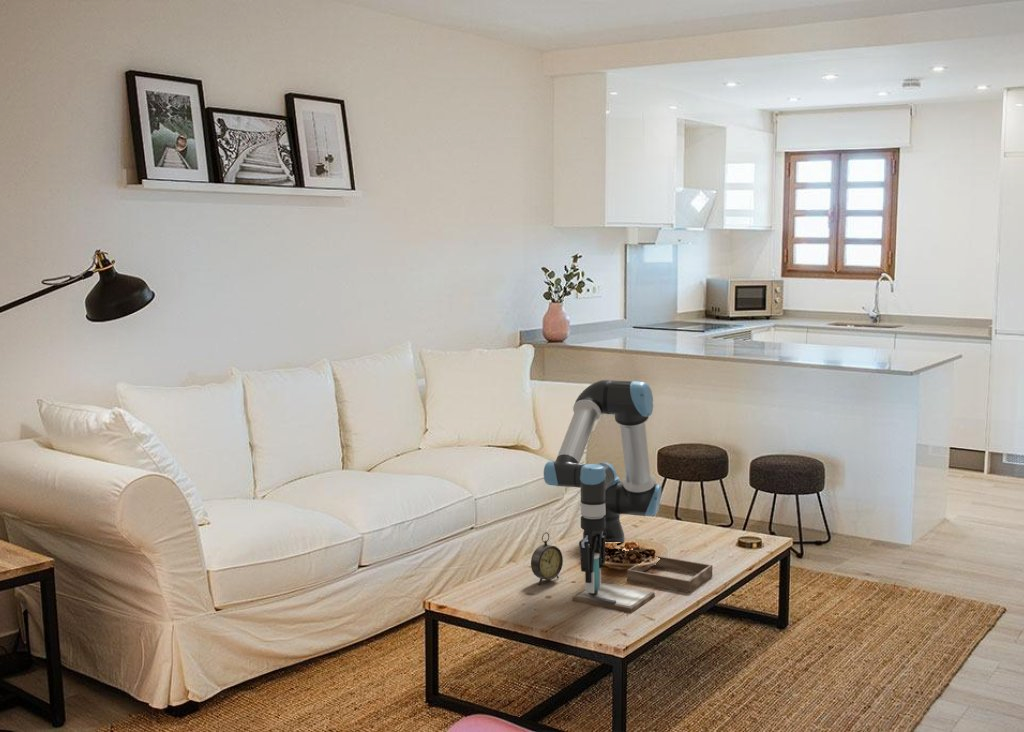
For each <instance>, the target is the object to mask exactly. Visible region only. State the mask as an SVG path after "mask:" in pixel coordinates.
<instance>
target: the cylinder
mask: <svg viewBox="0 0 1024 732" xmlns="http://www.w3.org/2000/svg"><path fill="white" fill-rule="evenodd" d="M593 572H594V593H589V594H590V595H597V594H598V590H599V553H595V552H594V562H593Z"/></svg>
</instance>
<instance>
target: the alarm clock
mask: <svg viewBox="0 0 1024 732" xmlns="http://www.w3.org/2000/svg"><path fill="white" fill-rule="evenodd" d="M546 534H547V536H548V537H547V540H544V535H546ZM549 539H550V533H549V532H547V531H545V532H544V533H542V536H541V541H542V542H543V544H541V545H540V546H539V545H538V547H536V549H534V551H533V553H532V556H531V559H530V568H531V571H532V573H533V575H534V576H536V577H537V578H539V582H538V586H541V583H542V581H543V580H546V581H552V580H554V579H555V578H557V579H559V578H560V576H558V575H559V574H560V573H561V571H562V568H563V562H564V559H563V558H564V557H563V554H562V551H561V550H560V548H559V547H557V546H555V545H551V544H548V542H549Z"/></svg>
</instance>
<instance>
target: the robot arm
mask: <svg viewBox="0 0 1024 732" xmlns="http://www.w3.org/2000/svg"><path fill="white" fill-rule="evenodd" d="M653 402H654V398H653V393H652V389H651V387H650V385H649V384H648V383H647V382H645V381H638V380H631V381H630V380H613V379H612V380H609V379H602V380H599V381H596V382H593V383H592V384H589V385H588V386H587V387H586V388H585V389H583V390H582V392H580V394H579V395H578V396H577V397H576V400H575V402H574V404H573V406H572V411H573V415H572V417H571V420H570V423H569V425H568V428H567V431H566V433H565V435H564V439H563V440H562V443H561V446H560V449H559V451H558V454H557V456H556V458H555V461H554V460H553V461H552V460H551V461H547V462H546V463H545V464H544V468H543V480H544V482H545V484H546V485H549V486H556V487H567V488H578V489H580V504H579V507H580V515H581V516H580V528H581V529H582V530H583V532H582V540H579V542H578V543H579V548H580V549H579V551H580V553H579V554H580V570H581V572H583V573H585V574H584V579H585V580H584V581H585V583H584V584H585V588H584V589H585V592H589V593H594V572H593V562H594V552H595V553H599V589H601V582H602V569H604V568H605V563H606V546H605V542H623V543H624V542H625V533H624V529H623V526H622V523H621V520H620V519H621V518H620V515H626V516H627V515H628V516H629V515H630V516H643V517H655V516H656V515H657V513H658V512H659V507H660V504H661V497H662V485H661V484H659V483H656V478H655V477H654V476H653V475H652V474H651V470H650V467H651V466H650V458H649V450H648V439H647V430H646V429H647V427H646V422H647V421H648V420H649V417H650V416H651V415H652V414H653V410H654V403H653ZM601 415H613V416H614V420H615V422H616V423H617V424H618V425H619V426H620V436H621V442H622V443H621V444H622V453H623V454H622V455H623V462H624V468H625V477H624V479H623V480H622V481H621V478H620V477H619V476H617V471H616V468H615V467H614V466H613V465H612V464H611V463H609V462H599V463H589V464H588V463H581V461H582V458H583V455H584V452H585V450H586V447H587V444H588V441H589V439H590V437H591V435H592V434H591V433H592V431H593V428H594V425H595V422H596V421H598V420H599V419H600V418H601Z"/></svg>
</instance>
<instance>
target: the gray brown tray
mask: <svg viewBox="0 0 1024 732" xmlns="http://www.w3.org/2000/svg"><path fill="white" fill-rule="evenodd" d="M656 557H658V558H660V560H659V561H658V562H657V563H656V565H655V566H654V567H657V568H664V569H669V570H675V571H680V572H686V573H691V574H695V575H694V576H692V577H691V578H689V579H688V580H687V579H684V578H683V579H682V578H677V577H671V576H666V575H659V574H655V573H648V572H645V571H647V570H649V569H650V568H651V567H638V565H636V564H635V565H633V566H631V567H630V568H628V569H627V570H626V581H627V582H631V583H632V582H633V583H637V584H644V585H648V586H654V587H659V588H665V589H669V590H673V591H674V590H675V591H679V592H680V591H681V592H684V593H685V592H686V593H691V592H692V591H693V590H695V589H696V588H697V587H699V586H700V585H702V584H703V583H704V582H706V581H707V580H708V579H709V578H712V576H713V564H707V563H701V562H696V561H691V560H685V559H680V558H679V559H678V558H674V557H673V558H672V557H667V556H660V555H656Z"/></svg>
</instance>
